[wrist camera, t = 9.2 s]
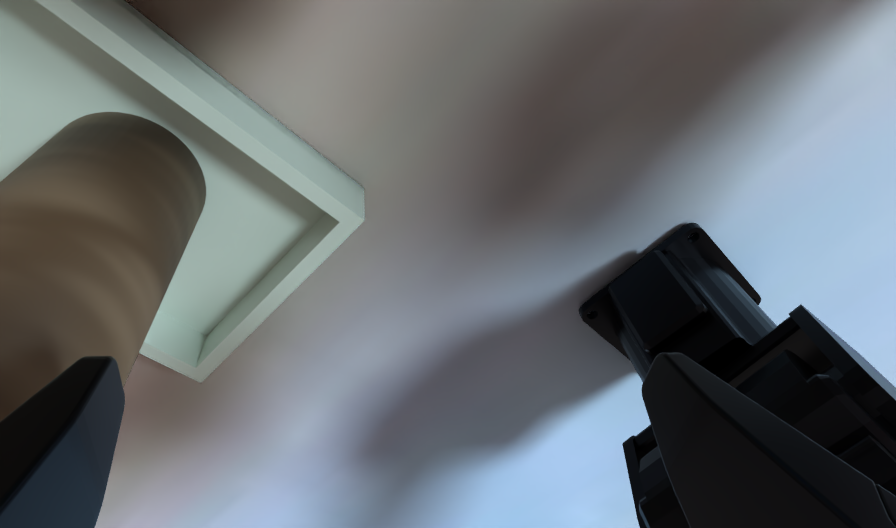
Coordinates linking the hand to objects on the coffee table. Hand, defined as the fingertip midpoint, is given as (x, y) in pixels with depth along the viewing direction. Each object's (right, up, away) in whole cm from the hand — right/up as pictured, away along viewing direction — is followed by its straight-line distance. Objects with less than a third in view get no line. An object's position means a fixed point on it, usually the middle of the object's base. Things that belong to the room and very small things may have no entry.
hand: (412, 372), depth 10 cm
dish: (-11, +5, +11) cm, 16 cm away
